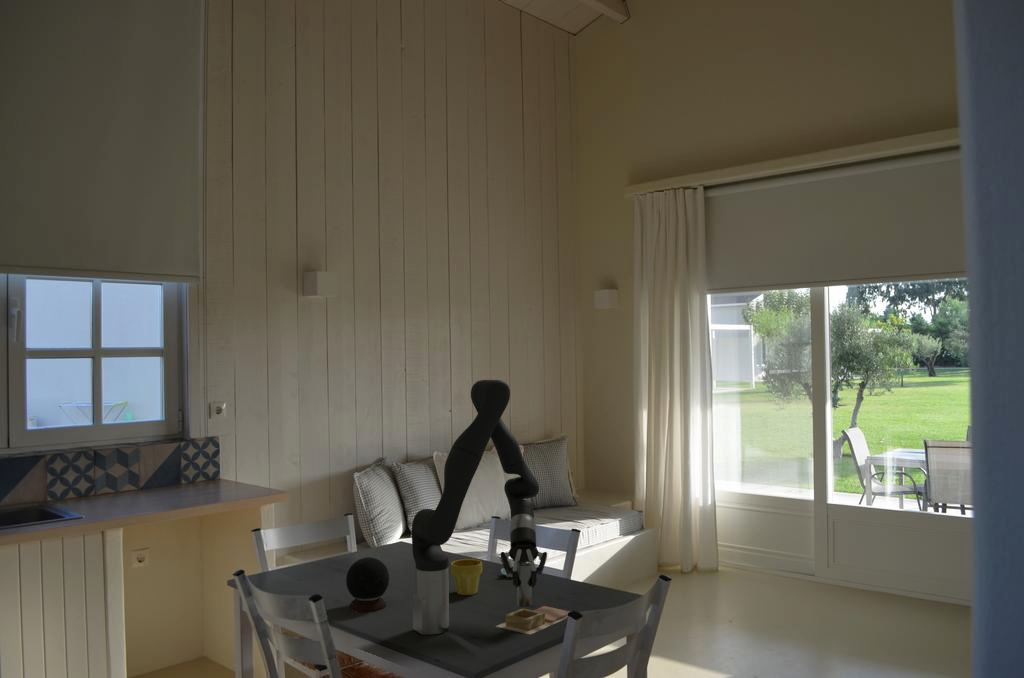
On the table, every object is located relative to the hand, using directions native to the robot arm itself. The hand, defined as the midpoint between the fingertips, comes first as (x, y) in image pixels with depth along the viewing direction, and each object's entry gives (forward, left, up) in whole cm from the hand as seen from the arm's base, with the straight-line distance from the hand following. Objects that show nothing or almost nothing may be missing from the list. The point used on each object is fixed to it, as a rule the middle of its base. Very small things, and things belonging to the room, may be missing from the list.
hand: (524, 585), depth 224 cm
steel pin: (+1, +2, -6) cm, 6 cm away
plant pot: (+5, +44, -13) cm, 46 cm away
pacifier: (+29, +54, -13) cm, 62 cm away
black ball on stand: (-28, +47, -13) cm, 56 cm away
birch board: (+6, +4, -13) cm, 14 cm away
